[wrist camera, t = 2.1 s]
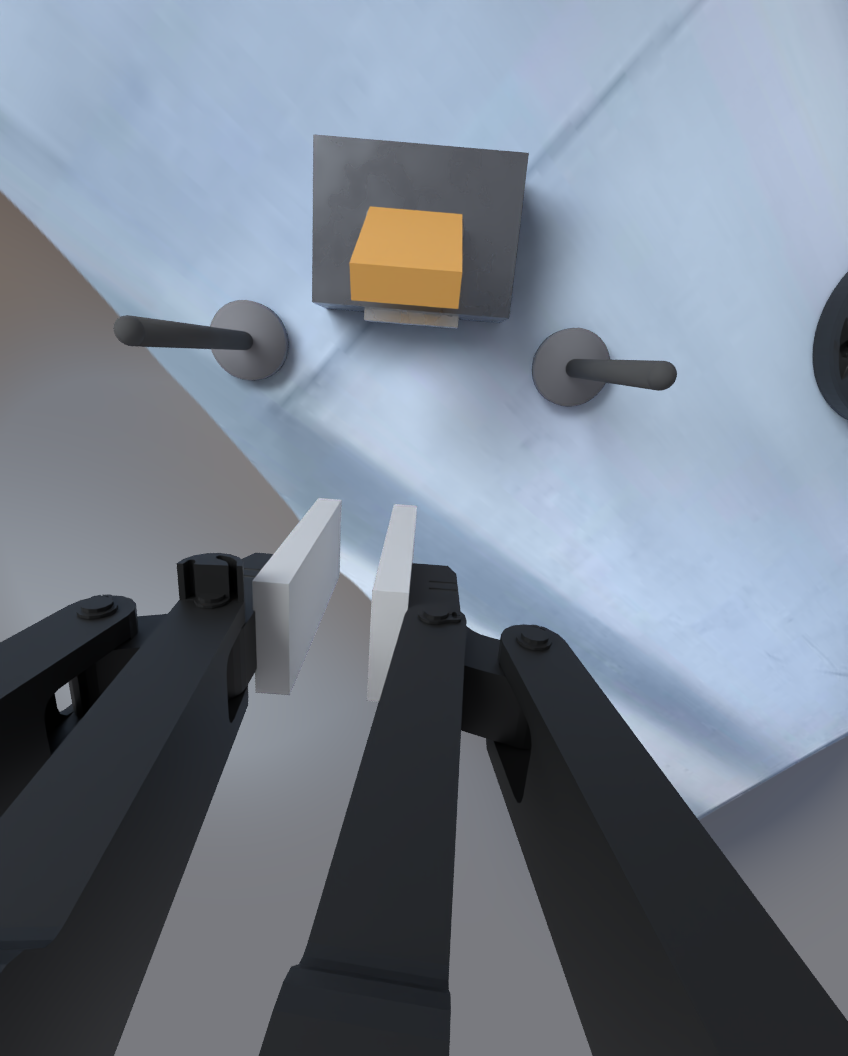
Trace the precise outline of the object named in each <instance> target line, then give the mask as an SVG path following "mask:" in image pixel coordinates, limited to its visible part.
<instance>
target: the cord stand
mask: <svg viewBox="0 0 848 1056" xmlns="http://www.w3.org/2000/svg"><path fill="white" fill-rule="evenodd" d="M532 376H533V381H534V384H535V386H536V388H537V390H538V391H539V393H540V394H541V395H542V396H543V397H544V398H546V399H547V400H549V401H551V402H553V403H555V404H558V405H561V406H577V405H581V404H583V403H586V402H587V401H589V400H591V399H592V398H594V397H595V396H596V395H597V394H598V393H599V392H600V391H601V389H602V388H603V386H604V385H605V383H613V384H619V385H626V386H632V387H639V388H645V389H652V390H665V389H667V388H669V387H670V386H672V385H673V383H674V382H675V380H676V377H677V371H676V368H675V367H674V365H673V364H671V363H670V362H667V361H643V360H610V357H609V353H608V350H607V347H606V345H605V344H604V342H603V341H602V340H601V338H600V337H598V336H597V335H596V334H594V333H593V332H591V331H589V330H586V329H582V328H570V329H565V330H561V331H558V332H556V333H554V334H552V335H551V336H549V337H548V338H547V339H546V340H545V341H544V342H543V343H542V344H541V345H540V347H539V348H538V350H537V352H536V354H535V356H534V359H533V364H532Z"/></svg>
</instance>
